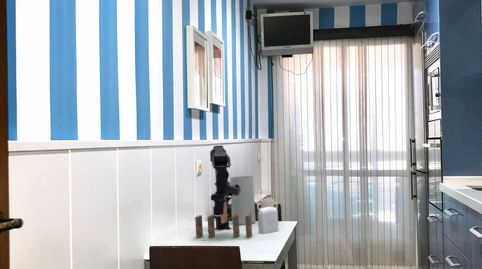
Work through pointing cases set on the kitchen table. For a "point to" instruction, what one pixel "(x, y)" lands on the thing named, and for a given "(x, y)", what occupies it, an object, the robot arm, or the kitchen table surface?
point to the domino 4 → (248, 226)
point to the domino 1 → (199, 226)
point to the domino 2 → (211, 226)
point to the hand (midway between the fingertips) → (223, 213)
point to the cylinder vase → (243, 199)
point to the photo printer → (268, 220)
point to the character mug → (267, 203)
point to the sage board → (225, 237)
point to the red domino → (224, 214)
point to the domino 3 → (236, 226)
